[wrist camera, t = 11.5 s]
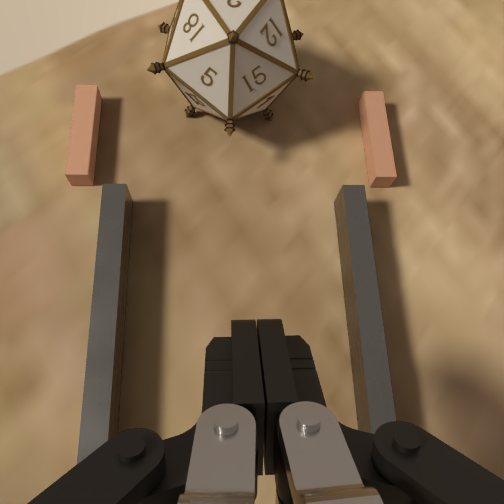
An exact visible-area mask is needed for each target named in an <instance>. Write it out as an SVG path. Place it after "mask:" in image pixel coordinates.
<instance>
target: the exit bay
mask: <svg viewBox="0 0 504 504" xmlns="http://www.w3.org/2000/svg"><path fill="white" fill-rule="evenodd" d="M101 104H102V97H101V94H100V92H99V89H98V86H97V85H76V91H75V99H74V107H73V115H72V123H71V131H70V139H69V147H68V155H67V163H66V171H65V175H66V177H67V179H68V180H69V182H70V184H71V185H93V184H94V174H95V164H96V154H97V144H98V134H99V124H100V114H101ZM358 106H359V113H360V120H361V127H362V134H363V142H364V149H365V156H366V163H367V170H368V177H369V185H370V187H390V186H391V184H392V183H393V182H394V180H395V179H396V177H397V175H396V169H395V162H394V156H393V150H392V144H391V138H390V132H389V126H388V120H387V114H386V108H385V102H384V96H383V91H364V92H363V94H362V96H361V99H360V101H359V103H358Z"/></svg>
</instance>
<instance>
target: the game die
mask: <svg viewBox="0 0 504 504" xmlns="http://www.w3.org/2000/svg"><path fill="white" fill-rule="evenodd" d="M158 27H159V29H160V31H161V33H168V37H167V42H166V46H165V51H164V56H163V61H162V63H158V62H156V63H151V65H150V67H149V68H148V69H147V70H148V71H150V72H152V73H154V74H156V73H160V72H161V71H162V70H165V71H166V73H167V74H168V75H169V77H170V78H171V79H172V81H173V82H174V83H175V84H176V86H177V87H178V88H179V90H180V91H181V92H182V94H183V95H184V96H185V98H186V99H187V100H188V101H189V103H190V104H191V105H190V106H188V107H187V109H185V111H186V117H189V116H193V113H195V109H196V108H197V109H199V110H202V111H204V112H207V113H209V114H212V115H214V116H217V117H219V118H222V119H224V120H227V123H226V124H225V127H226V128H225V129H224V130H225V131H226V132H227V133H228V135H229V136H231V134H232V133H233V132H234V131H235V129H234V127H235V125H234V123H233V121H234V120H237V119H240V118H243V117H246V116H249V115H252V114H256V113H259V112H262V111H263V114H264V116H265V119H268V120H271V121H272V115H273V113H271V110H269V109H268V107H269V106H270V105H271V104H272V103H273V102H274V101H275V100H276V99H277V97H278V96H279V95H280V94H281V93H282V92H283V91H284V90H285V89H286V88H287V87H288V86H289V84H290V83H291V82H292V81H293V80H294V79H295V78H296V77H300V78H301V80H302V79H303V80H305V82H306V81H307V80H310V79H313V78H314V77H313V76H312V75H311V73H310V71H306V70H305V69H304V70H300V69H299V65H298V60H297V55H296V50H295V45H294V40H300V39H301V37H302V35H303V33H301V32H300V31H299V30H297V31H294V32H293V33H292V31H291V27H290V24H289V20H288V16H287V12H286V8H285V4H284V0H179V3H178V6H177V8H176V11H175V14H174V17H173V20H172V22H171V25H170V26H169V25H168V24H165V23H164V22H163V23H162V24H161V25H159V26H158Z"/></svg>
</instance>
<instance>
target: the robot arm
mask: <svg viewBox="0 0 504 504" xmlns="http://www.w3.org/2000/svg"><path fill="white" fill-rule="evenodd" d="M263 457H264V467H265V475H275V482H276V500H275V502H276V504H504V480H502V479H501V478H499V477H497V476H496V475H494V474H493V473H491V472H490V471H488V470H486V469H485V468H483V467H482V466H480V465H479V464H477V463H475V462H474V461H472V460H471V459H469V458H467V457H466V456H464V455H463V454H461V453H460V452H458V451H456V450H455V449H453V448H452V447H450V446H449V445H447V444H445V443H444V442H442V441H441V440H439V439H438V438H436V437H434V436H433V435H431V434H430V433H428V432H426V431H425V430H423V429H422V428H420V427H418V426H416V425H414V424H411V423H407V422H402V421H391V422H387V423H385V424H383V425H381V426H380V427H379V428H378V429H377V430H376V432H375V434H372V433H368V432H363V431H359V430H355V429H352V428H349V427H347V426H345V425H343V424H341V423H340V422H338V420H337V418H336V416H335V415H334V414H333V412H332V411H330V410H329V409H328V408H327V407H326V403H325V400H324V396H323V393H322V389H321V385H320V382H319V378H318V375H317V371H316V369H315V364H314V361H313V357H312V353H311V350H310V346H309V345H308V344H307V343H306V342H305V341H304V340H303V339H302V338H301V337H300V336H299V335H296V336H285V334H284V329H283V324H282V320H281V319H259V320H257V329H256V321H255V320H231V337H214V338H213V339H212V340H211V342H210V343H209V345H208V346H207V347H206V356H205V373H204V389H203V406H202V414H201V415H200V417H199V418H198V421H197V423H196V424H195V425H194V426H193V427H192V428H191V429H189V430H188V431H186V432H185V433H183V434H180V435H178V436H175V437H171V438H168V439H165V440H162V439H161V437H160V436H159V435H158V434H157V433H155V432H153V431H151V430H148V429H143V428H135V429H129V430H125V431H122V432H120V433H118V434H116V435H114V436H113V437H112V438H110V439H109V440H108V441H106V442H105V443H104V444H103V445H101V446H100V447H99V448H98V449H96V450H95V451H94V452H92V453H91V454H90V455H89V456H87V457H86V458H85V459H84V460H82V461H81V462H80V463H78V464H77V465H76V466H75V467H73V468H72V469H71V470H70V471H68V472H67V473H66V474H64V475H63V476H62V477H61V478H59V479H58V480H57V481H56V482H54V483H53V484H52V485H51V486H49V487H48V488H47V489H45V490H44V491H43V492H42V493H40V494H39V495H38V496H37V497H35V498H34V499H33V500H31V501H30V502H29V503H28V504H254V501H255V499H256V496H257V475H263Z"/></svg>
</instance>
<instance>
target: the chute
mask: <svg viewBox="0 0 504 504" xmlns="http://www.w3.org/2000/svg"><path fill="white" fill-rule="evenodd" d="M132 206H133V201H132V198H131V195H130V193H129V190H128V187H127V184H103V187H102V198H101V209H100V219H99V230H98V241H97V252H96V263H95V274H94V285H93V295H92V306H91V317H90V328H89V339H88V350H87V361H86V371H85V382H84V393H83V404H82V415H81V426H80V437H79V447H78V458H77V464H78V463H80V462H81V461H82V460H84V459H85V458H86V457H87V456H89V455H90V454H91V453H92V452H94V451H95V450H96V449H98V448H99V447H100V446H101V445H103V444H104V443H105V442H106V441H108V440H109V439H110V438H112V437H113V436H114V435H116V434H118V421H119V405H120V390H121V375H122V359H123V344H124V329H125V313H126V298H127V282H128V267H129V252H130V236H131V221H132ZM334 206H335V215H336V224H337V234H338V243H339V252H340V262H341V271H342V280H343V290H344V299H345V308H346V318H347V327H348V336H349V346H350V355H351V364H352V374H353V383H354V392H355V402H356V411H357V420H358V430H359V431H363V432H368V433H372V434H375V432H376V430H377V429H378V428H379V427H380V426H381V425H383V424H385V423H387V422H391V421H396V414H395V407H394V400H393V392H392V385H391V377H390V370H389V363H388V355H387V348H386V340H385V333H384V326H383V318H382V311H381V303H380V296H379V289H378V281H377V274H376V266H375V259H374V252H373V244H372V237H371V229H370V222H369V215H368V207H367V200H366V192H365V185H343V186H342V188H341V190H340V192H339V193H338V195H337V197H336V199H335V201H334Z"/></svg>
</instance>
